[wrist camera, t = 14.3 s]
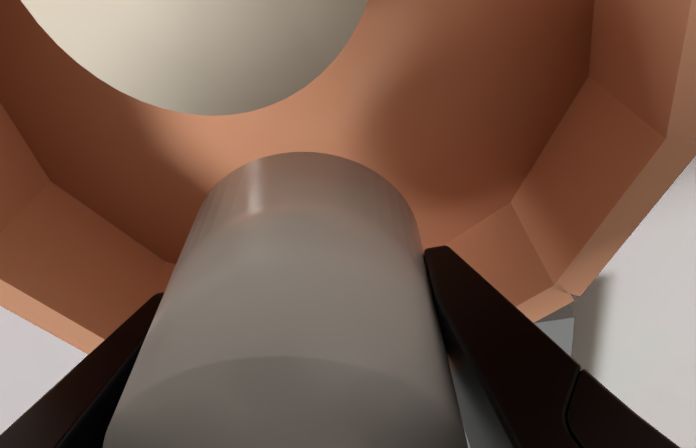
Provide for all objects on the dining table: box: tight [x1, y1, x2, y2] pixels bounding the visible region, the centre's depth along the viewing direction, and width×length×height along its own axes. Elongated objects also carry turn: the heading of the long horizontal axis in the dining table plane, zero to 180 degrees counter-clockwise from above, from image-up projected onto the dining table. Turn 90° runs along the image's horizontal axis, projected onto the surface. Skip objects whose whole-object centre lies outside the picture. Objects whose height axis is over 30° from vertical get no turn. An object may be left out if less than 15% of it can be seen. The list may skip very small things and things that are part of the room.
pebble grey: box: [103, 152, 468, 448], centre depth 8 cm, size 4×4×4 cm
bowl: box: [0, 0, 696, 354], centre depth 10 cm, size 14×14×4 cm
